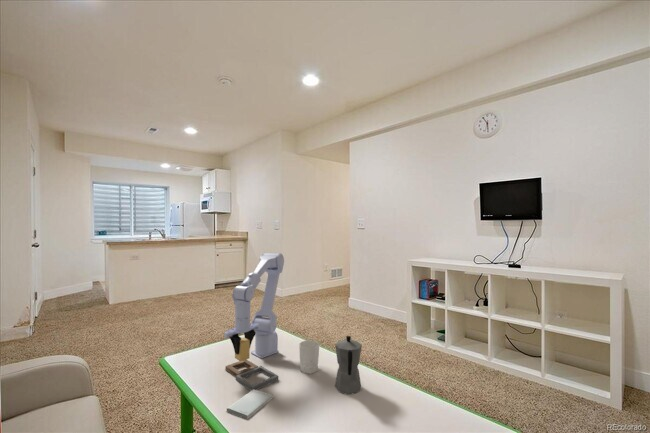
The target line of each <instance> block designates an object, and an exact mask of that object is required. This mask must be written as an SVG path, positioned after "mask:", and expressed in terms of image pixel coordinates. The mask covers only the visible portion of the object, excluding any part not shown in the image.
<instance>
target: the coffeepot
mask: <svg viewBox="0 0 650 433" xmlns="http://www.w3.org/2000/svg"><path fill="white" fill-rule="evenodd" d="M345 337H346V338H344V339H342V340H338V341H337V342H336V343H335V344H334V345H335V353H336V360H337V364H338V369H337V372H336V378H335V384H334V387H335V389H336V391H338V392H339V393H341V394H344V393H346V394H345V395H353V394H352V393H354V394H357V393H358V392H360V391H361V389H362V384H361V383H362V382H361V376H360V371H359V365H360V358H361V353H362V347H363V346H362V345H363V344H361V343H360V342H359V341H357V340H352V337H351V335H347V336H345ZM356 392H357V393H356Z"/></svg>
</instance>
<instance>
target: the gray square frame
mask: <svg viewBox="0 0 650 433" xmlns="http://www.w3.org/2000/svg"><path fill="white" fill-rule="evenodd" d="M257 373H258V374H259V373H262V374H264V375H266V376H267V377H269V378H266V379H264V380H262V381H258V382H257V383H255V384H253V383H251V382H250V381H248V380H247V379H246V378H248V377H250V376H253V375H255V374H257ZM235 380H236V381H237V382H239V383H240V384H241V385H242V386H244V387H245V388H247V389H249V390H250V391H252V390H253V389H254V390H260V389H262V388H264V387H266V386H268V385H270V384H273V383H275V382H277V381H279V375H278V374H276V373H274V372H273V371H271V370H269V369H267V368H266V367H264V366H262V365H260V366H258V367H257V368H254V369H252V370H249V371H247V372H244V373H242V374H239V375H236V377H235Z"/></svg>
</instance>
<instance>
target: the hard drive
mask: <svg viewBox="0 0 650 433" xmlns="http://www.w3.org/2000/svg"><path fill="white" fill-rule="evenodd" d="M272 399H273V394H272V393H271V394H270V393H266V392H264V391H261V390H259V389H257V390H254V389H253V390H252V391H251V390H250V391H249V392H248V393H246V394H245V395H243V396H242V397H240V398H239V399H238V400H236V401H235V402H233V404H231V405H230V406H228V407H227V408H226V412H228V413H231V414H232V415H235V416H237V417H240V418H244V419H246V420H248V419H249V418H251V417H252V416H253V415H254V414H256V413H257V412H258V411H259V410H260V409H261V408H263V407H264V406H265V405H266V404H267V403H268V402H270V401H271V400H272Z"/></svg>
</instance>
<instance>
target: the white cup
mask: <svg viewBox="0 0 650 433" xmlns="http://www.w3.org/2000/svg"><path fill="white" fill-rule="evenodd" d="M298 345H299V363H300V364H299V365H300V367H299V369H300V371H301V372H302V373H303V374H307V373H309V374H314V372H315V373H316V372H317V371H318V370H319V368H318V367H319V366H318V365H319V357H320V343H319V342H318V341H316V340H311V339H310V340H303V341H300V343H299V344H298Z"/></svg>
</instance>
